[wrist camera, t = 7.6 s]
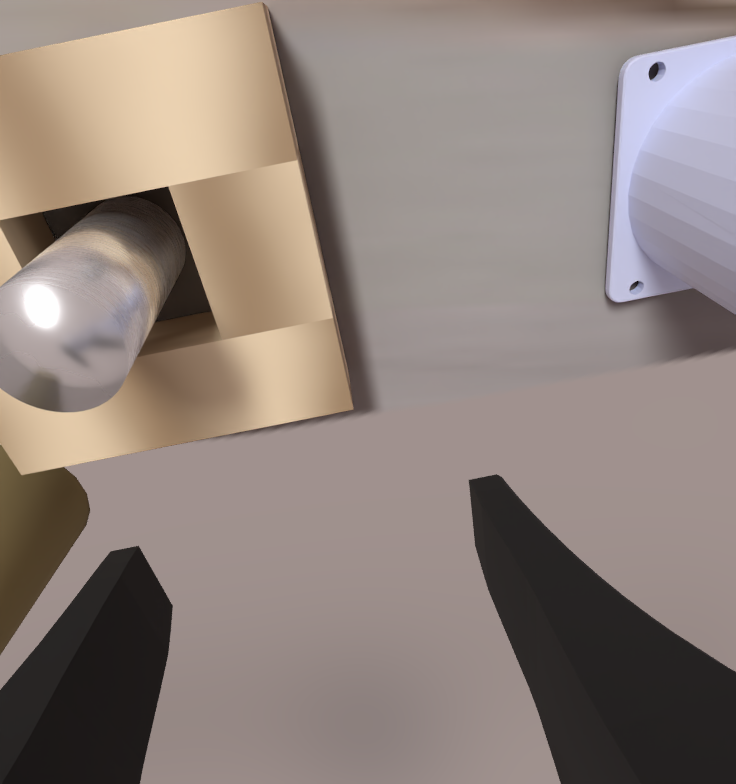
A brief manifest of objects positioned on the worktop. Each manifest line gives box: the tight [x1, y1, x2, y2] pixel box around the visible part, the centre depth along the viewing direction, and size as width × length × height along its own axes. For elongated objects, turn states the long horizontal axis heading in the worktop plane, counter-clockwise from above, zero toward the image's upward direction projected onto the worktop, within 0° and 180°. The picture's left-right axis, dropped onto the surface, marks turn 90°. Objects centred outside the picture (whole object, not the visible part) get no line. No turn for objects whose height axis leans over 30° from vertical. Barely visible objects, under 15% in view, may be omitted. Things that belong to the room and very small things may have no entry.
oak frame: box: [0, 2, 354, 475], centre depth 18 cm, size 12×12×3 cm
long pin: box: [0, 196, 186, 412], centre depth 16 cm, size 3×3×8 cm
